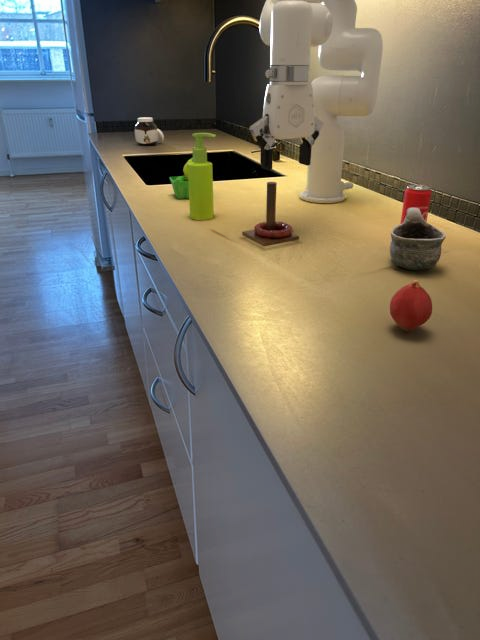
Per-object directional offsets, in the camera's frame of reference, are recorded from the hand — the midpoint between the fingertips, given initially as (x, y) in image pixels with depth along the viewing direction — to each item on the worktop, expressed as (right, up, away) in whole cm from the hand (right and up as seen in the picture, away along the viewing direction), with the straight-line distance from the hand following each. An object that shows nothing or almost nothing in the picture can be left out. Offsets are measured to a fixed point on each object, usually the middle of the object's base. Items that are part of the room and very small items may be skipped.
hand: (285, 166), depth 107 cm
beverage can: (+27, -16, +4) cm, 32 cm away
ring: (-2, -12, +5) cm, 13 cm away
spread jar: (-52, +50, +132) cm, 150 cm away
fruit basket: (-23, +4, +41) cm, 47 cm away
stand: (-3, -15, +5) cm, 16 cm away
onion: (+15, -34, -32) cm, 49 cm away
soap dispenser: (-19, -6, +22) cm, 30 cm away
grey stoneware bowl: (+23, -21, -8) cm, 33 cm away
